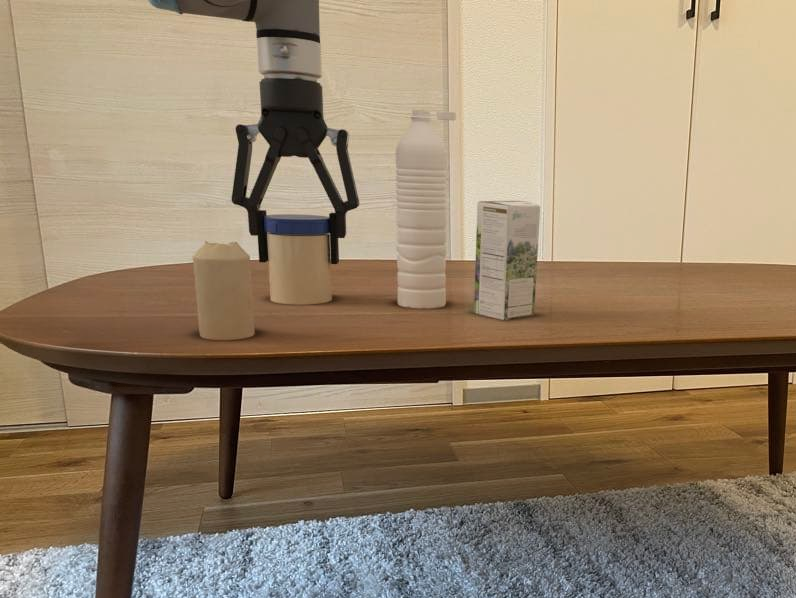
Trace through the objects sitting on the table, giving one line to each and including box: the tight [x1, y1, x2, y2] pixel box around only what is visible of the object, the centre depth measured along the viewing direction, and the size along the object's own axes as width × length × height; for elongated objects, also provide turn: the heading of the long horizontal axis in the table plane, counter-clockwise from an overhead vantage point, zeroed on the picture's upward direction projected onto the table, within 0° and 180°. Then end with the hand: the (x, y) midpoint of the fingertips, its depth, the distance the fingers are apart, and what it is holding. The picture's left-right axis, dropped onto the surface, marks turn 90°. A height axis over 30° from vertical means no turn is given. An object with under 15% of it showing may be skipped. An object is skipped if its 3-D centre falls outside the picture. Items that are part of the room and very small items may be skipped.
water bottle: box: [395, 109, 457, 310], centre depth 103 cm, size 9×6×25 cm
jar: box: [267, 232, 333, 305], centre depth 104 cm, size 8×8×10 cm
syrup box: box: [473, 200, 541, 321], centre depth 99 cm, size 6×6×14 cm
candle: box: [192, 240, 256, 341], centre depth 82 cm, size 6×6×10 cm
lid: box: [264, 213, 330, 235], centre depth 102 cm, size 8×8×2 cm
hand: (299, 261), depth 104 cm, fingers closed on lid, 8 cm apart
